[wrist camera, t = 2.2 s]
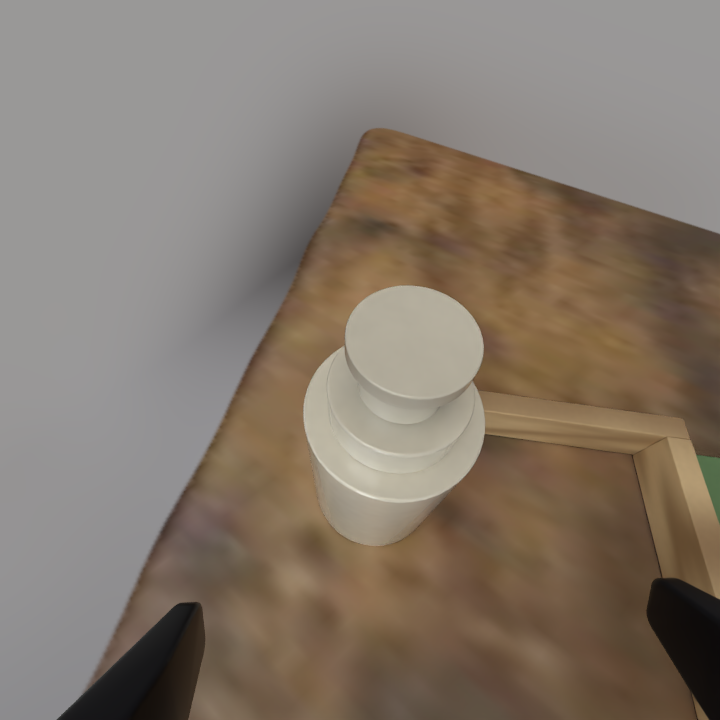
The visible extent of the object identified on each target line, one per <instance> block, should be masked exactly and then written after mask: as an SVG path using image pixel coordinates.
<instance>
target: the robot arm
mask: <svg viewBox="0 0 720 720" xmlns="http://www.w3.org/2000/svg"><path fill="white" fill-rule="evenodd" d="M647 618H648V621H649V623H650V626H651V627H652V629H653V631H654V632H655V634H656V636H657V637H658V639H659V640H660V642H661V644H662V645H663V647H664V649H665V650H666V652H667V653H668V655H669V657H670V658H671V660H672V662H673V663H674V665H675V666H676V668H677V670H678V671H679V673H680V675H681V676H682V678H683V679H684V681H685V683H686V684H687V686H688V688H689V689H690V691H691V692H692V694H693V696H694V697H695V699H696V701H697V702H698V704H699V705H700V707H701V708H702V710H703V711H704V713H705V715H706V716H707V717H708V719H709V720H720V599H718V598H716V597H714V596H712V595H710V594H708V593H706V592H704V591H702V590H700V589H698V588H696V587H694V586H692V585H690V584H688V583H686V582H684V581H682V580H680V579H678V578H673V577H669V578H657V579H655V580H654V581H653V582H652V585H651V590H650V595H649V600H648V605H647ZM204 648H205V630H204V620H203V611H202V606H201V604H200V603H198V602H188V603H179V604H177V605H176V606H174V607H173V608H172V609H171V610H170V611H169V612H168V613H167V614H166V615H165V616H164V617H163V618H162V619H161V620H160V621H159V622H158V623H157V624H156V625H155V626H154V627H153V628H151V629H150V630H149V631H148V632H147V633H146V634H145V635H144V636H143V637H142V638H141V639H140V640H139V641H138V642H137V643H136V644H135V645H134V646H133V647H132V648H131V649H130V650H129V651H128V652H127V653H126V654H124V655H123V656H122V657H121V658H120V659H119V660H118V661H117V662H116V663H115V664H114V665H113V666H112V667H111V668H110V669H109V670H108V671H107V672H106V673H105V674H104V675H103V676H102V677H101V678H100V679H98V680H97V681H96V682H95V683H94V684H93V685H92V686H91V687H90V688H89V689H88V690H87V691H86V692H85V693H84V694H83V695H82V696H81V697H80V698H79V699H78V700H77V701H76V702H75V703H74V704H73V705H71V706H70V707H69V708H68V710H66V711H65V712H64V713H63V714H62V715H61V716H60V717H59V718H58V719H57V720H188V718H189V713H190V709H191V705H192V701H193V696H194V692H195V688H196V683H197V679H198V675H199V671H200V666H201V662H202V658H203V653H204Z"/></svg>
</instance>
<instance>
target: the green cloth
mask: <svg viewBox="0 0 720 720" xmlns="http://www.w3.org/2000/svg"><path fill="white" fill-rule="evenodd" d="M696 456H697V459H698V462H699V465H700V468H701V471H702V474H703V477H704V480H705V483H706V486H707V489H708V492H709V495H710V498H711V501H712V504H713V507H714V510H715V513H716V516H717V519H718V522H719V524H720V458H715V457H708V456H701V455H696Z"/></svg>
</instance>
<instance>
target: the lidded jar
mask: <svg viewBox="0 0 720 720" xmlns="http://www.w3.org/2000/svg"><path fill="white" fill-rule="evenodd" d="M483 355H484V345H483V338H482V334H481V331H480V329H479V327H478V324H477V323H476V321H475V319H474V318H473V317H472V315H471V314H470V313H469V312H468V311H467V310H466V309H465V308H464V307H463V306H462V305H461V304H460V303H458V302H457V301H456V300H454V299H452V298H451V297H449V296H447V295H445V294H443V293H441V292H438V291H436V290H433V289H429V288H425V287H420V286H395V287H390V288H386V289H383V290H380V291H377V292H375V293H373V294H371V295H370V296H368V297H367V298H365V299H364V300H363V301H362V302H360V303H359V304H358V306H357V307H356V308H355V309H354V310H353V312H352V313H351V315H350V317H349V319H348V322H347V325H346V329H345V346H343V347H342V348H340V349H339V350H337V351H336V352H334V353H333V354H332V355H331V356H329V357H328V358H327V359H326V360H325V361H324V362H323V363H322V365H321V366H320V367H319V368H318V369H317V371H316V373H315V374H314V376H313V377H312V379H311V381H310V384H309V386H308V389H307V392H306V395H305V400H304V406H303V420H304V428H305V434H306V439H307V444H308V450H309V455H310V461H311V466H312V472H313V477H314V483H315V488H316V493H317V498H318V502H319V505H320V508H321V510H322V513H323V514H324V516H325V518H326V519H327V521H328V522H329V523H330V525H331V526H332V527H333V528H334V529H335V530H336V531H337V532H339V533H340V534H341V535H343V536H344V537H346V538H348V539H349V540H351V541H354V542H356V543H359V544H363V545H369V546H383V545H388V544H392V543H395V542H398V541H400V540H402V539H403V538H405V537H407V536H408V535H410V534H411V533H412V532H413V531H414V530H415V529H416V528H417V527H418V526H419V525H420V524H421V523H422V522H423V521H424V520H425V519H426V518H427V517H428V515H429V514H430V513H431V512H432V511H433V510H434V509H435V508H436V507H437V506H438V505H439V504H440V503H441V502H442V500H443V499H444V498H445V497H446V496H447V495H448V494H449V493H450V492H451V491H452V490H453V489H454V488H455V487H456V485H457V484H458V483H459V482H460V481H461V480H462V479H463V478H464V477H465V476H466V475H467V474H468V472H469V471H470V470H471V468H472V467H473V465H474V464H475V462H476V460H477V458H478V456H479V454H480V451H481V448H482V445H483V441H484V436H485V414H484V408H483V404H482V400H481V398H480V395H479V393H478V390H477V388H476V386H475V385H474V383H473V379H474V377H475V375H476V374H477V372H478V370H479V368H480V366H481V363H482V360H483Z"/></svg>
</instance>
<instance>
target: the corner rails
mask: <svg viewBox="0 0 720 720" xmlns="http://www.w3.org/2000/svg"><path fill="white" fill-rule="evenodd" d="M478 393H479V395H480V398H481V400H482V404H483V408H484V414H485V434H490V435H497V436H504V437H511V438H519V439H526V440H533V441H540V442H547V443H554V444H561V445H568V446H575V447H582V448H589V449H596V450H604V451H611V452H618V453H625V454H632V455H633V460H634V464H635V468H636V472H637V476H638V480H639V484H640V488H641V492H642V496H643V500H644V504H645V508H646V512H647V516H648V520H649V524H650V528H651V532H652V536H653V540H654V544H655V548H656V552H657V556H658V560H659V564H660V568H661V572H662V576H663V578H669V577H673V578H678V579H680V580H682V581H684V582H686V583H688V584H690V585H692V586H694V587H696V588H698V589H700V590H702V591H704V592H706V593H708V594H710V595H712V596H714V597H716V598H718V599H720V524H719V522H718V519H717V516H716V513H715V510H714V507H713V504H712V501H711V498H710V495H709V492H708V489H707V486H706V483H705V480H704V477H703V474H702V471H701V468H700V465H699V462H698V459H697V456H696V454H695V451H694V448H693V445H692V442H691V440H690V437H689V434H688V431H687V428H686V425H685V422H684V419H682V418H676V417H669V416H662V415H655V414H647V413H640V412H633V411H626V410H618V409H611V408H604V407H597V406H589V405H582V404H575V403H567V402H560V401H553V400H546V399H538V398H531V397H524V396H517V395H509V394H502V393H495V392H488V391H480V390H478ZM691 693H692V692H691ZM692 697H693V701H694V705H695V709H696V713H697V717H698V720H709V719H708V717H707V716H706V715H705V713H704V711H703V710H702V708H701V707H700V705H699V704H698V702H697V701H696V699H695V697H694V696H693V694H692Z"/></svg>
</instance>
